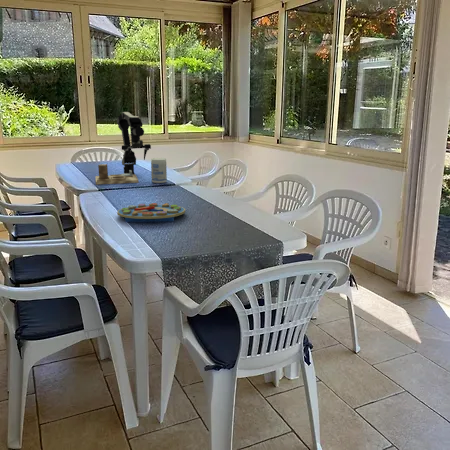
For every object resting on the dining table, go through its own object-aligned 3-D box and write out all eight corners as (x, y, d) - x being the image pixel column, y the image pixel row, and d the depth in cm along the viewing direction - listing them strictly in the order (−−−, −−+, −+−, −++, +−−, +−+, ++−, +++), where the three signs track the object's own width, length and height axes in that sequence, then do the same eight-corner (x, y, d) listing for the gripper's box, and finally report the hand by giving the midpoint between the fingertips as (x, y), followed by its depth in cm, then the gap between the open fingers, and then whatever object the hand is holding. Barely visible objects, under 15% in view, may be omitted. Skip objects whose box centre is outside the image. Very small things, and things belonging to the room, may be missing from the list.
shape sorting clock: (187, 208, 217) (186, 196, 215) (183, 226, 188) (183, 212, 186) (124, 208, 216) (123, 196, 214) (111, 226, 187) (110, 212, 185)
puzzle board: (135, 176, 299) (135, 172, 298) (138, 182, 279) (138, 177, 278) (95, 178, 292) (95, 173, 291) (95, 184, 272) (95, 179, 271)
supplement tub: (152, 183, 276) (151, 160, 272) (150, 181, 284) (149, 158, 280) (168, 182, 279) (167, 159, 274) (165, 180, 287) (164, 157, 283)
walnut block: (108, 179, 280) (107, 164, 278) (106, 180, 276) (105, 165, 273) (101, 179, 280) (100, 164, 277) (99, 180, 276) (98, 165, 273)
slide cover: (131, 174, 297) (131, 169, 296) (132, 176, 290) (132, 171, 289) (121, 175, 295) (120, 170, 294) (121, 176, 288) (121, 171, 287)
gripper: (120, 137, 278) (122, 162, 281) (150, 135, 281) (152, 160, 285) (120, 136, 288) (122, 160, 292) (149, 135, 292) (151, 159, 295)
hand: (137, 160), depth 291 cm, fingers open, 9 cm apart
